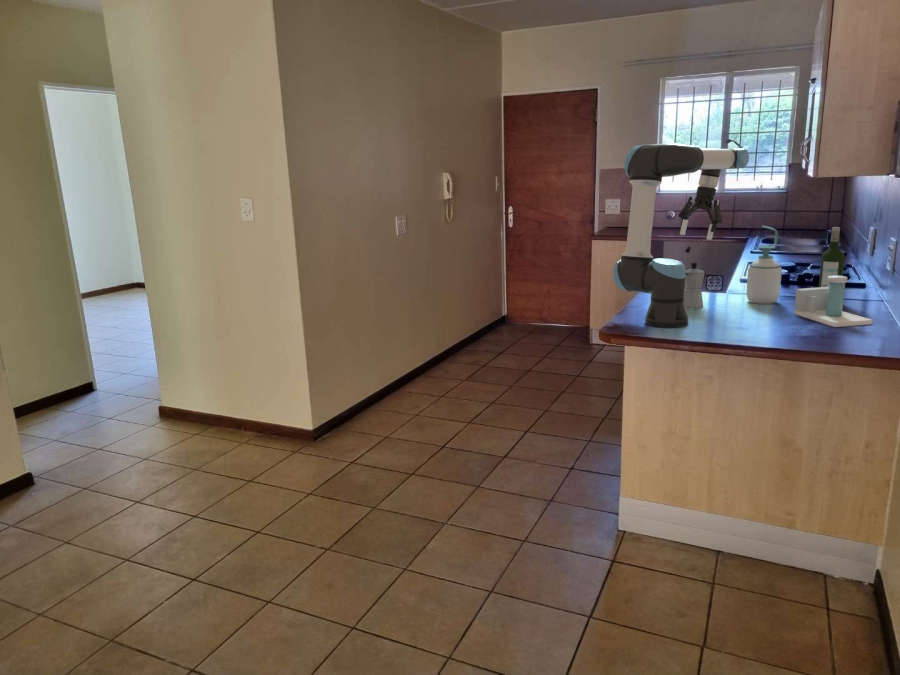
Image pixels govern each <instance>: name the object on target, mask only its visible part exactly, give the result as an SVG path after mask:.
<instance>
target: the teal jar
mask: <svg viewBox="0 0 900 675" xmlns="http://www.w3.org/2000/svg"><path fill="white" fill-rule="evenodd" d="M827 281H828V282H829V287H828V297H827V306H826V315H830V316H841V315H842V311H843V309H844V308H843V307H844V298H845V297H844V296H845V288H846V283H848V276H844V275H843V276H828V280H827Z"/></svg>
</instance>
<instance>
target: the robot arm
mask: <svg viewBox="0 0 900 675" xmlns="http://www.w3.org/2000/svg"><path fill="white" fill-rule="evenodd" d="M749 159H750V153H749V151H748V149H747V148H711V147H710V148H700V147H699V146H696V145H689V144H683V143H672V142H671V143H669V142H667V143H653V144H652V143H650V144H642V145H635V146H633V147H632V148H631V149H630V150H629V151H628V152H627V153H626V157H625V160H624V164H623V169H624V171H625V172H624V173H625V174H624V175H626V176H627V177H628V178H629V180H628V181H629V184H630V185H631V187H632V189H631V190H632V192H631V200H630V211H629V220H628V229H627V237H626V238H627V239H626V247H625V251H623V253H622V254H621V257H620V259H618V260H617V261H615V264H614V266H613V269H612V277H613V281H614V284H616V287H617V288H618V289H619V290H623V291H627V292H635V293H644V294H650V303H649V306H648V309H647V311H646V314H645V319H644V323H645V324H646V325H648V326H651V327H655V328H667V329H669V328H671V329H672V328H681V327H682V328H683V327H686V326H687V325H688V324H689V315H688V312H687V308H685V305H684V290H685V277H686V274H685V270H686V266H685V264H684V263H683V262H682V261H680V260H676V259H673V258H659V257H657V258H654V256H653V255H652V254H651V252H650V251H651V250H650V249H651V241H652V234H653V225H654V224H653V223H654V215H655V206H656V197H657V188H658V186H660V185H661V184H662V182H663V178H667V177H675V176H679V175H686V174H693V173H696V172H698V171H700V175H699V180H698V183H697V185H699V186H697V187H696V192H695V194H696V196H695V197H694V196H689V197H688V200H687V202H686V203H685V205H684V206H683V208H682V209H681V211H680V212H679V214H678V215H677V216H678V218H680V219H681V221H680V232H679V235H681V236H685V235H686V231H687V227H688V223H689V220H688V219H689V218H690V217H691V216H692V215H693V214H694V213H695V212H696V211H697V210H699V209H700V210H705V211H706V212H707V214H708V217H709V219H710V222H711V223H709V227H708V230H707V235H706V240H709V241H713V237H714V233H715V232H716V229H717V226H718V225H721V224H723V218H722V213H721V206H720V205H721V200H719V199H714V198H715V197H716V192H717V189H716V188H717V187H718V184H719V181H720V175H721V171H722V170H735V169H736V170H738V169H739V170H740V169H745V168H746V167H747V166H748V163H749V161H750V160H749ZM712 206H713V207H712Z"/></svg>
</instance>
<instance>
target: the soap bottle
mask: <svg viewBox="0 0 900 675" xmlns="http://www.w3.org/2000/svg"><path fill="white" fill-rule="evenodd" d="M761 227H762V228H764V229H767V230H770V231H774V241H773V242H774V243H773V245H769V246H768V245H765V246H764V245H760V246H757V248H758V250H760V251H761V252H762V254H761V255H758V259H756V260H755V261H753V262H752V263H750V264H749V267H748V268H747V276H746V277H747V278H746V298H747V300H748V301H749V302H751V303H752V304H755V305H772V304H774V303H776V302H777V301H778V299H779V297H780V294H781V281H782V272H783V271H782V270H783V269H782V265H781V264H779V262H777V261H776V260H775V259H773V258H774V256H773V255H769V254H770V252H771V251H772V250H775V249H777V247H778V240H779V239H778V238H779V231H778V230H777V229H776V228H773V227H770V226H766V225H763V224H762V225H761Z"/></svg>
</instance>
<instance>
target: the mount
mask: <svg viewBox="0 0 900 675" xmlns="http://www.w3.org/2000/svg"><path fill="white" fill-rule="evenodd" d="M827 297H828V287H819V286H818V287H817V286H816V287H807V288H796V290H795V299H794V300H795V301H794V302H795V303H794V309H793V314H794V315H797V316H800V317H803V318H806V319H808V320H811V321H815V322H818V323H821V324H823V325H827V326H831V327H834V328H839V327H850V326H864V325H873V319H871V318H867V317H864V316H860V315H856V314H853V313H851V312H846V311H844V310H842V315H841V316H830V315H826V306H827Z"/></svg>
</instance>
